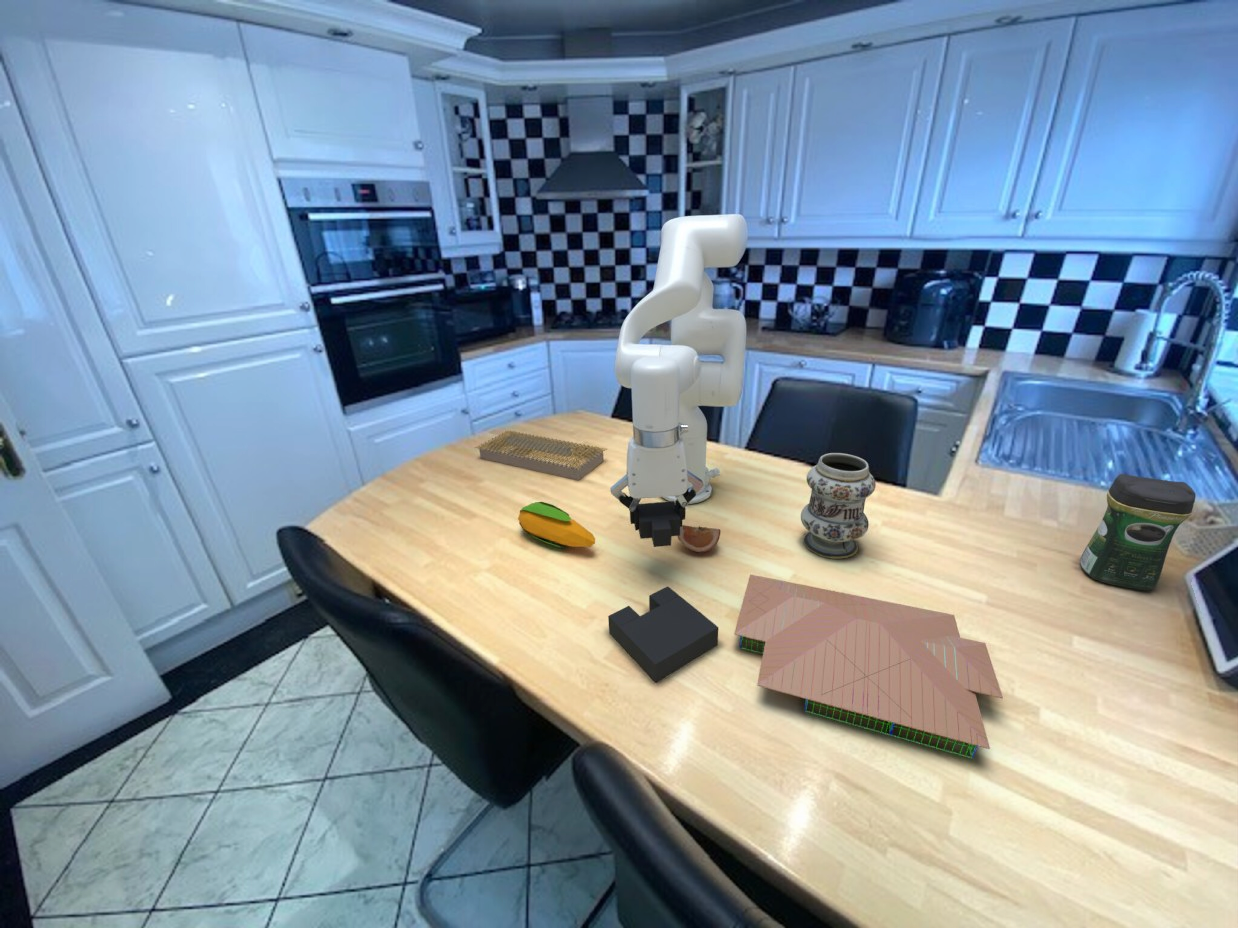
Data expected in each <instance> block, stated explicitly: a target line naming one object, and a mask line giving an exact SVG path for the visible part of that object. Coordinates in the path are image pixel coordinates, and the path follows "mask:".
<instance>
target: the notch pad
mask: <svg viewBox="0 0 1238 928" xmlns="http://www.w3.org/2000/svg"><path fill="white" fill-rule="evenodd" d="M648 605H649V606H648V608H649V610H648V611H647V612H645V613H643V614H641V615H640V614H639V613H637V612H636V611H635V610H634V609H633V608H632V606H630V605H627V606H625V607H623V608H621V609H619V610H617V611H615V612H613V613H611V614H610V615H607V617H608V619H607V620H608V633H609V634H610V636H611V637H613V639H614V640H615V641H616V642H617V643H618V644H619V645H620V646H621V647H622V648H623V649H624V650H625V652H627V654H628V655H629V656H630V657H631V658H632V659H633V660H634V661H635V662H636V663H637V664H638V665H639V667H640V668H641V669H642V670H643V671H644V672H645V673H646V675H648V676H649V677H650V678H651V679H652V680H653V682H654V683H658V682H659V681H661V680H662V679H664V678H666V677H667V676H669V675H671V674H672V673H674V672H676V671H678V670H679V669H680V668H683V667H684V666H685V665H687V664H688V663H690V662H692V661H693V660H695V659H697V658H698V657H700V656H701V655H703V654H705V653H706V652H708V651H710V650H712V649H713V648H715V647H716V646H718V644H719V626H718V625H716V624H715V623H714V622H713V621H712V620H711V619H709V618H708V617H707V616H705V615H704V614H703V613H702V612H701V611H699V610H698V609H697V608H696V607H694V606H693V605H692V604H690V602H688V601H687V600H686V599H684V598H683V597H682V596H681V595H680V594H678V593H677V592H676V591H674V590H673V589H672V588H671V587H670V586H668V585H667V586H665V587H662V588H660V589H659V590H657V591H655V592H653V593H651V594H649V596H648Z"/></svg>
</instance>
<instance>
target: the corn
mask: <svg viewBox="0 0 1238 928" xmlns="http://www.w3.org/2000/svg"><path fill="white" fill-rule="evenodd" d="M517 520H518V523H519V526H520V528H521V529H522V530H523V531H524V532H525V533H527V534H528V535H530V536H532V537H533V538H535V539H536V540H538V541H541V542H544V543H545V544H548V545H551V546H555V547H558V548H562V549H565V546H569V547H572V548H581V547H583V548H584V547H587V548H588V547H592V546H594V545H596V538H595V536H594V534H593V533H592V532H590V531H589V530H588V529H587V528H585V527H584V526H582V525H581V524H580V523H579V522H578V521H576V520H575V519H572V517H570V514H569V513H568V512H566V511H565V510H563V509H561V508H559V507H558V506H556V505H554V504H551V503H547V502H544V501H536V502H532V503H529V504H527V505H525V506H523V507H522V508H521V509H520V510H519V514H518V517H517Z"/></svg>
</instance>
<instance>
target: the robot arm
mask: <svg viewBox="0 0 1238 928" xmlns="http://www.w3.org/2000/svg"><path fill="white" fill-rule="evenodd" d="M748 234H749V231H748V224H747V221H746V219H745V217H744V215H742V214H739V213H729V214H705V215H704V214H703V215H702V214H701V215H686V216H685V215H684V216H679V217H675V218H671V219H669V220H667V221H666V222H665V223H664V224H663V225H662V227H661V231H660V249H659V254H658V260H657V265H656V272H655V276H654V277H655V278H654V284H653V288H652V290H651V291H650V292H649V293H648V294H647V295H645V296H644V297H643V298H642V299H641V300H640V301H639V302H637V304H635V306H634V307H633V308H632V310H630V312H629V313H628V314H627V316H626V317H625V319H624V320H623V322H622V325H621V327H620V330H619V334H618V341H617V345H616V350H615V355H614V356H615V357H614V365H613V366H614V376H615V378H616V381H617V382H618V384H619V385H620V386H621V387H624V388H627V389H630V390H631V409H632V411H631V413H632V436H633V437H631V438H629V440H628V444H627V449H626V450H627V451H626V474H625V475H623V476H622V478H620V479H619V480H617V482H616V483H614V484H613V485H612V486H611V487H610V494H611V495H612V496H613V497H614V498H615V499H617V500H618V501H619V503H621V505H623V506H625V507H626V508H627V509H628V511H629V521H630V525H634V530H635V531H639V511H638V504H640V503H641V501H642V500H643V499H655V498H663V499H664V500H666V501H667V502H669V501H674V502H675V506H676V509H677V512H678V514H679V517H680V527H682V525H683V521H684V520H686V518H687V517H686V516H687V515H686V509H687V507H688V505H690V504H691V505H692V504H698V503H701V502H704V501H706V500H707V499H709V498H710V496H711V495H712V490H713V489H712V485H711V484H710V482H709V481H711V480H712V478H715V477H718V476H720V473H721V471H720V469H719V468H717V467H715V468H713V469H710V470H709V468H708V467H707V439H708V423H707V421H708V420H707V419H706V416H705V414H704V413H703V411H702V410H701V409H700V407H718V408H719V407H722V408H729V407H734V406H736V405H738V403H739V402H740V400H741V397H742V393H743V387H744V374H745V360H746V346H747V321H746V318H745V316H744V313H742V312H741V311H740V310H737V309H733V308H714V307H713V305H714V290H715V289H714V288H715V287H714V283H713V282H712V280H711V277H710V276H709V275H708V273H707V272H706V271H705V269H706V268H708V269H709V268H733V267H735V266H737V265H738V264H739V262H740V261H741V259H742V258H743V256H744V254H745V251H746V249H747V245H748V237H749V235H748ZM669 321H671V325H670V343H671V344H659V343H657V344H656V343H655V344H652V343H640V340H641V339H642V338H643V337H644V336H645V335H646V334H647V333H648V332H649V331H650V330H652V329H654V328H655V327H657V326H659V325H661V324H664V323H666V322H669ZM700 356H720V357H721V358H722V359H723V361H722V360H721V361H719V360H718V361H717V360H715V361H714V360H701V359H700ZM626 487H627V488H628V489H627V490H628V493H629V495H628V494H626V493H625V492H623V490H624V489H625V488H626Z"/></svg>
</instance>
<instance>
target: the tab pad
mask: <svg viewBox="0 0 1238 928" xmlns="http://www.w3.org/2000/svg"><path fill="white" fill-rule="evenodd" d="M638 511H639V529H638V534H639V539H640V540H644V539H651V542H652V545H653V547H654V548H659V547H672V537H678V536H680V517H679V514H678V512H677V509H676V506H675V502H674V501H660V502H659V501H657V502H645V503H639V504H638Z"/></svg>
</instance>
